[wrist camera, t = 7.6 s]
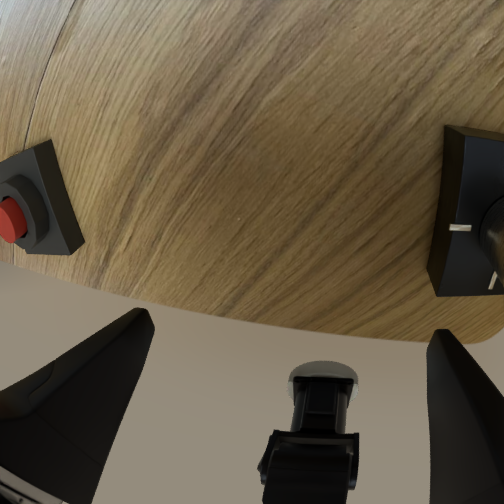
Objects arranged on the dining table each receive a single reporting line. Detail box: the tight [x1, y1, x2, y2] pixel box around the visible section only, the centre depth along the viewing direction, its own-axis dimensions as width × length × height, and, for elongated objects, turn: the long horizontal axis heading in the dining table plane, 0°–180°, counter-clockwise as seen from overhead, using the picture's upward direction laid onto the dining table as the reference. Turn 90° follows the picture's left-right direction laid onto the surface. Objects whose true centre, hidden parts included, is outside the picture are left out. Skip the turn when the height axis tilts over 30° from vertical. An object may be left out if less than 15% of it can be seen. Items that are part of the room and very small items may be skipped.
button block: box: [0, 139, 85, 255], centre depth 21 cm, size 10×8×4 cm
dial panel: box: [427, 125, 504, 297], centre depth 14 cm, size 10×9×3 cm
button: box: [0, 197, 28, 243], centre depth 19 cm, size 4×4×2 cm
